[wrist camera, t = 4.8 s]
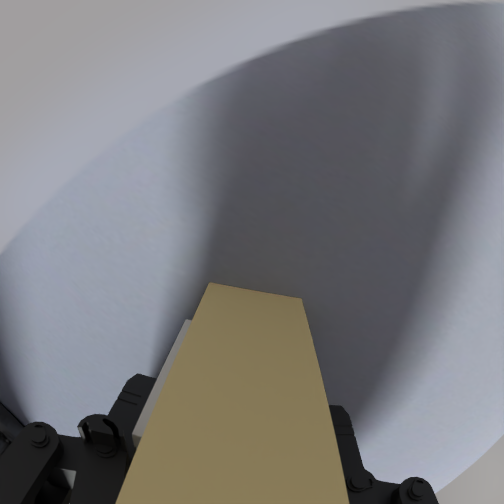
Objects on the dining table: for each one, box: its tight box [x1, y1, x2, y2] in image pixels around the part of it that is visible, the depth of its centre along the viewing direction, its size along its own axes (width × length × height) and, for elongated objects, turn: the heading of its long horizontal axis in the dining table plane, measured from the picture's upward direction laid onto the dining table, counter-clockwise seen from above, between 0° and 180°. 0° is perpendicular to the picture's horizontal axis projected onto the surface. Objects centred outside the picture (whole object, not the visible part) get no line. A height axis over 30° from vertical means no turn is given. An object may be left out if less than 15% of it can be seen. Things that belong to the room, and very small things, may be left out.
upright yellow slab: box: [116, 282, 349, 504], centre depth 10 cm, size 4×14×10 cm, turn 170°
